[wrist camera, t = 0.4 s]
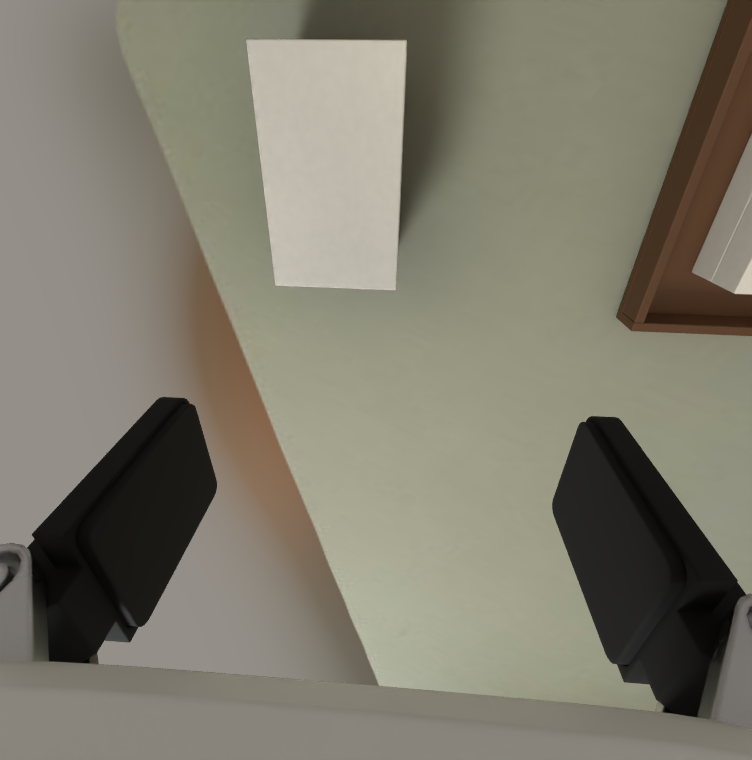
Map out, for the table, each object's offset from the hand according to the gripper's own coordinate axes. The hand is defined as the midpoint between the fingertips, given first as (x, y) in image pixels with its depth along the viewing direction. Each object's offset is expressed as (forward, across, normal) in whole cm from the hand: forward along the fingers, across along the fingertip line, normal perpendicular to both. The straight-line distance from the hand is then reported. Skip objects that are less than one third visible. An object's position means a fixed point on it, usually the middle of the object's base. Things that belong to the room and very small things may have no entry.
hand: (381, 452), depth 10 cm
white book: (+15, +3, -5) cm, 16 cm away
